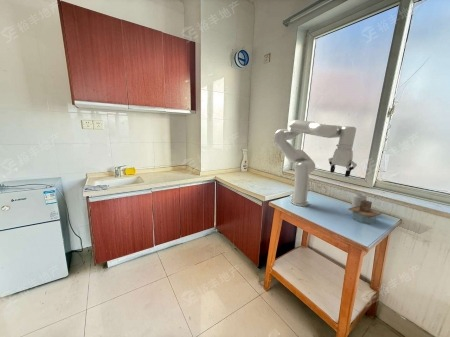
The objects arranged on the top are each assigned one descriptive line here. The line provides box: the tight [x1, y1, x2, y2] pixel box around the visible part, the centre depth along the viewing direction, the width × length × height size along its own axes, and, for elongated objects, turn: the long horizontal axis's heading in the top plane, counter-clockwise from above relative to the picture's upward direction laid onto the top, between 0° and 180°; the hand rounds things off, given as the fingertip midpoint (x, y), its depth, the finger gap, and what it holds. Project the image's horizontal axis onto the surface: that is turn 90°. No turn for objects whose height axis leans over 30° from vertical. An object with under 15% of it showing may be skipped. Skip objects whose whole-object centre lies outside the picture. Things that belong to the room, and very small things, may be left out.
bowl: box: [351, 211, 378, 225], centre depth 116 cm, size 11×11×5 cm
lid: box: [347, 200, 382, 218], centre depth 115 cm, size 12×12×7 cm
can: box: [350, 192, 368, 208], centre depth 128 cm, size 8×8×12 cm
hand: (339, 174), depth 118 cm, fingers open, 9 cm apart
